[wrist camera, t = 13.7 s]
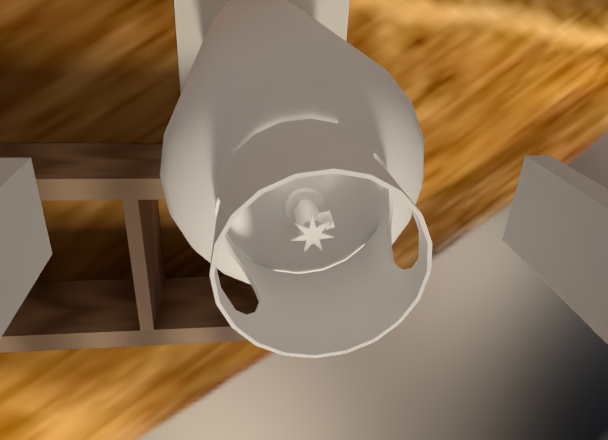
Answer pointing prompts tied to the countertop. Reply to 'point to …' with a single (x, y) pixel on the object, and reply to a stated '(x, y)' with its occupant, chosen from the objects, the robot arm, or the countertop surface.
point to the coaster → (206, 4)
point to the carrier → (143, 253)
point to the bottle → (297, 180)
